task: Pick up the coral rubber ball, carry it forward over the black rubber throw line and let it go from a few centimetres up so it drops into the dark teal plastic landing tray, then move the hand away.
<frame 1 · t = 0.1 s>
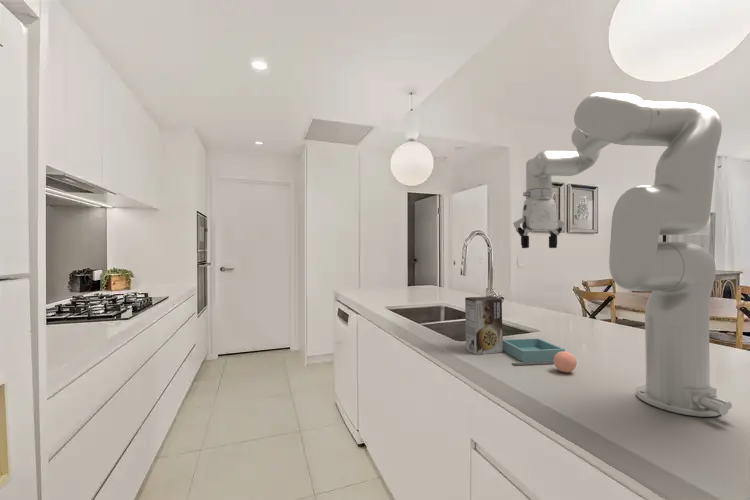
hand: (539, 248, 112), 31 cm above the countertop, tool pointing down, fingers open, 9 cm apart
ball: (564, 361, 85), point 2 cm above the countertop
coffee box: (483, 351, 103), on the countertop
throw line: (541, 363, 91), on the countertop
tray: (531, 354, 99), on the countertop
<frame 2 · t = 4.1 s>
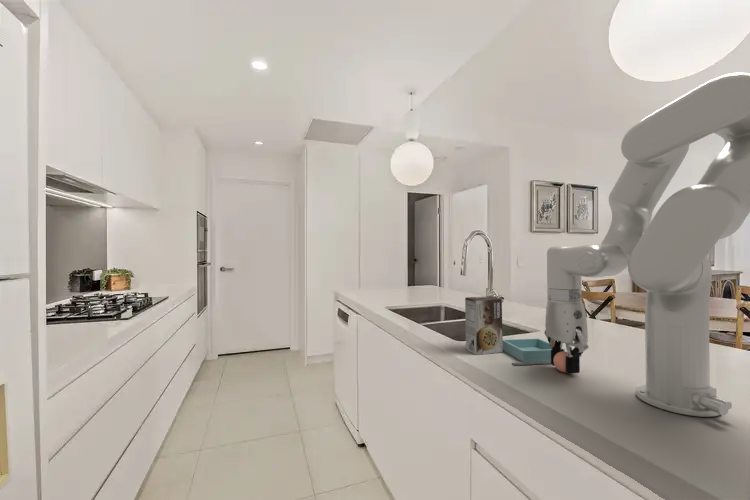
hand: (564, 368, 85), 1 cm above the countertop, tool pointing down, fingers closed on ball, 4 cm apart
ball: (564, 361, 85), point 2 cm above the countertop, touching gripper
everything else where it was.
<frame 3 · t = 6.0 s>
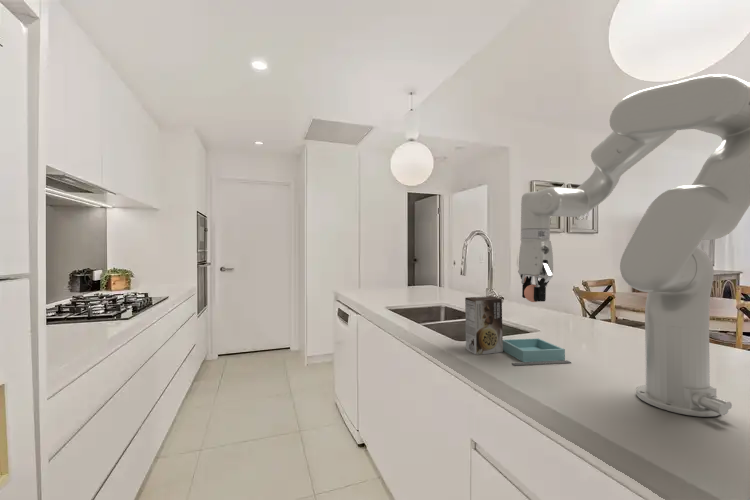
hand: (533, 298, 98), 16 cm above the countertop, tool pointing down, fingers closed on ball, 4 cm apart
ball: (533, 293, 98), point 18 cm above the countertop, touching gripper
everything else where it was.
when the fingers open (5 cm above the countertop, at t = 7.9 s): ball drops 3 cm, resting on tray.
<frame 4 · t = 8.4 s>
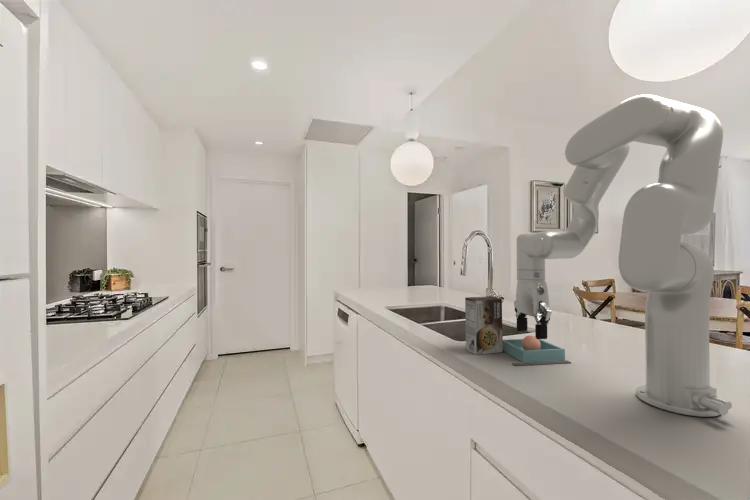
hand: (531, 334, 99), 6 cm above the countertop, tool pointing down, fingers open, 9 cm apart
ball: (531, 344, 99), point 3 cm above the countertop, touching tray
everything else where it was.
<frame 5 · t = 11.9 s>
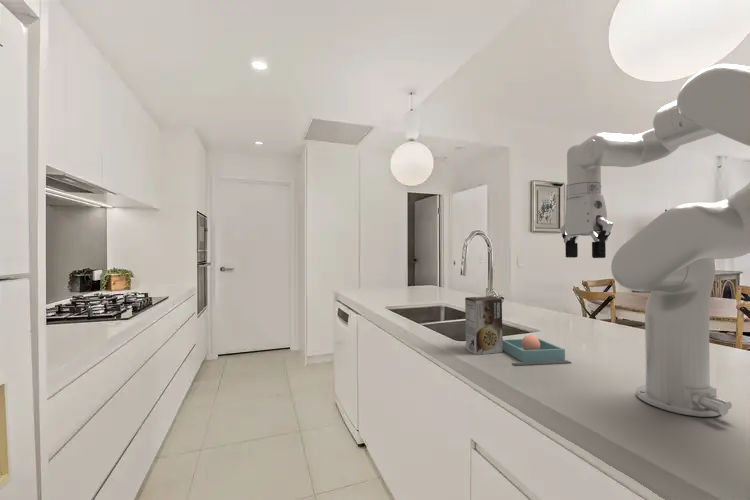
hand: (584, 257, 89), 28 cm above the countertop, tool pointing down, fingers open, 9 cm apart
nothing on the countertop moved.
at the end: ball inside the target area on the tray (0.1 cm from its centre), point 3.0 cm above the tray's base; ball inside the target area (40.9 cm from its centre), point 3.0 cm above the countertop; the gripper is holding nothing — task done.
